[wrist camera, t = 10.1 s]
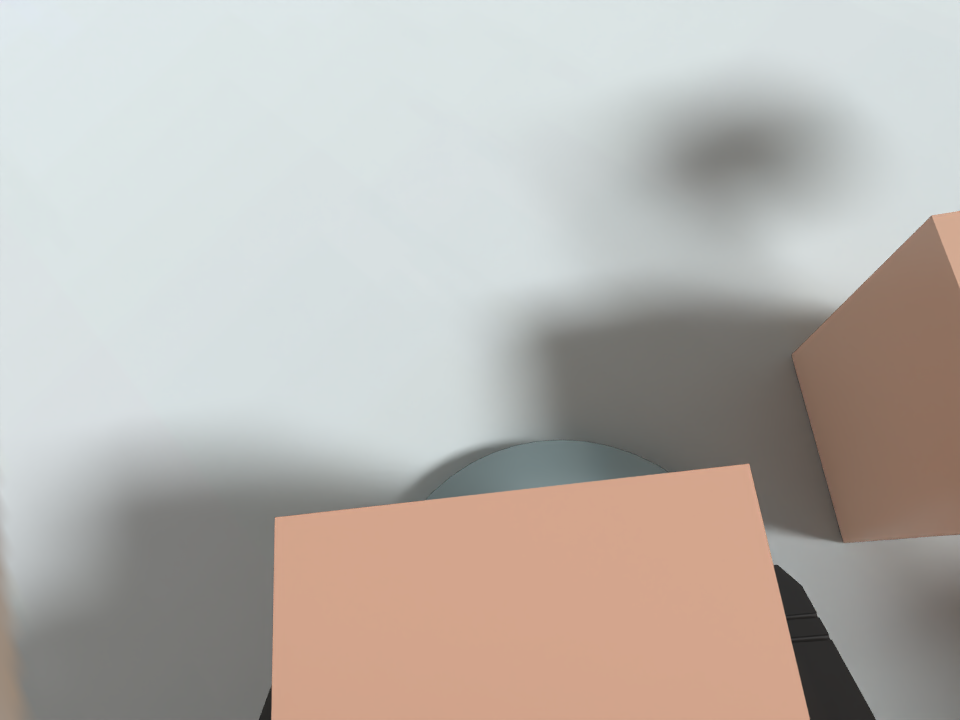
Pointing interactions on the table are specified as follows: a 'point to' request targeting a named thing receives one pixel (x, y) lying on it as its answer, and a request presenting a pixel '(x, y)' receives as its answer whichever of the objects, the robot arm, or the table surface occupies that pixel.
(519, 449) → the dish
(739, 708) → the salmon rectangular block
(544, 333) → the table surface
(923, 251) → the salmon square column
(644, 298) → the table surface
